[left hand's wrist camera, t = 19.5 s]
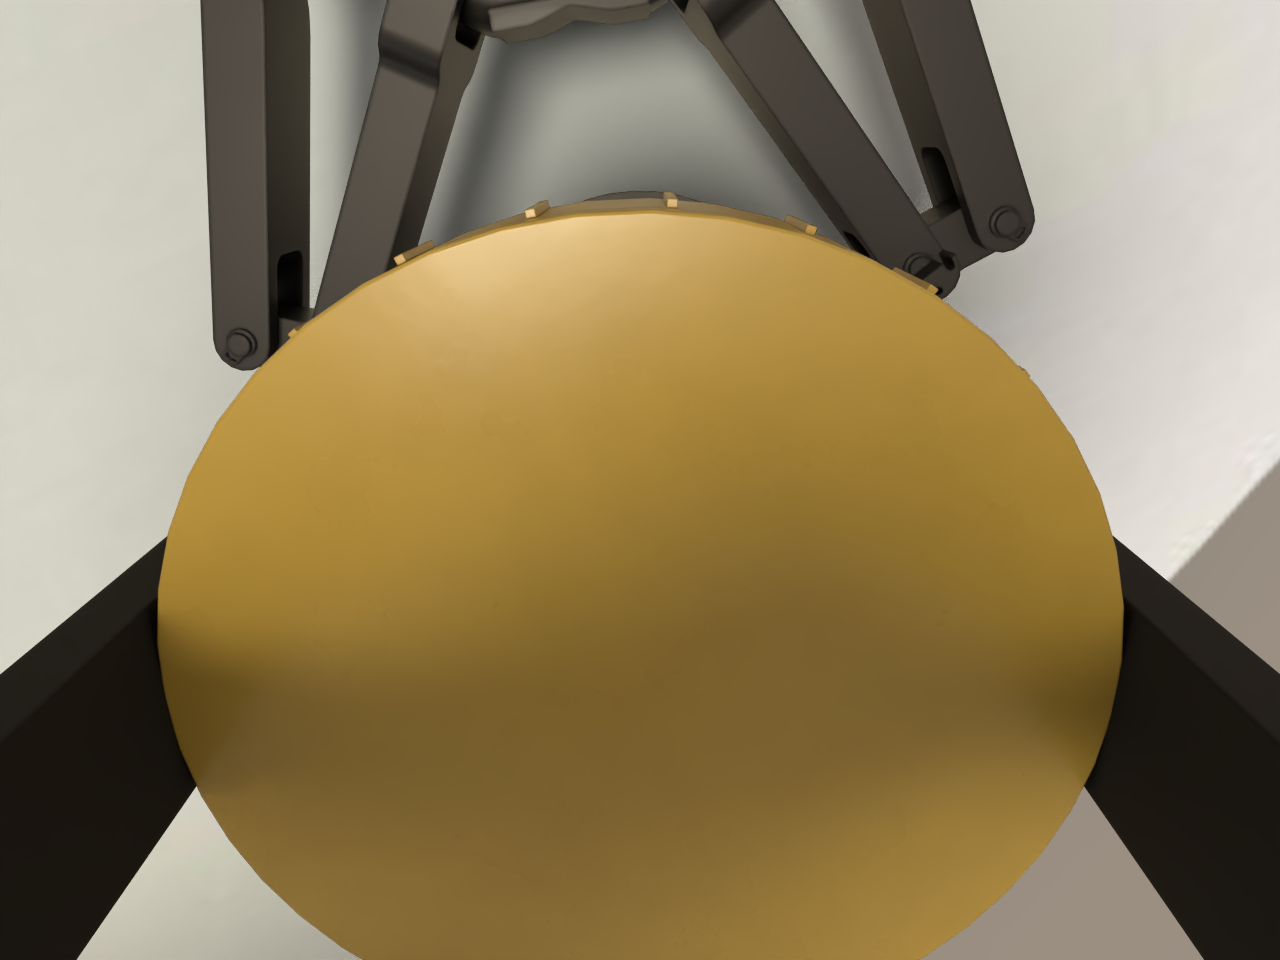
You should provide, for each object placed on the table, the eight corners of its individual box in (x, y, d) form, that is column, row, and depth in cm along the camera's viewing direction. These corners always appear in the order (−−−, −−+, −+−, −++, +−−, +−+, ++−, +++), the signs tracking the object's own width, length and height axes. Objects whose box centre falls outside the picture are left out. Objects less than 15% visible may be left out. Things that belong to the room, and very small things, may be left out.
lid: (569, 1023, 15) (560, 1143, 13) (46, 544, 12) (-65, 617, 10) (1190, 697, 13) (1282, 790, 11) (752, -34, 9) (780, -78, 7)
